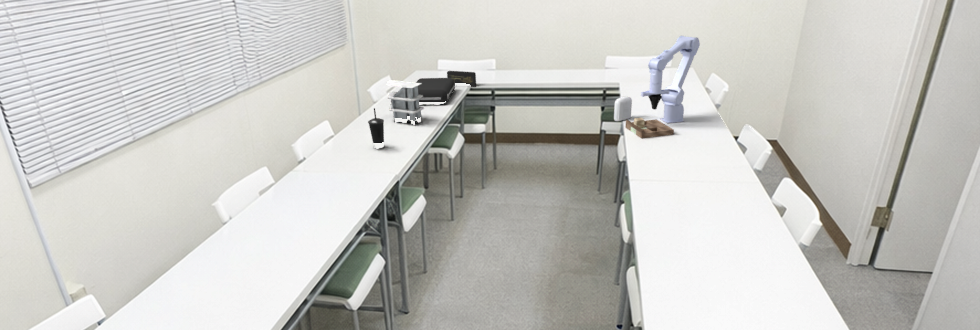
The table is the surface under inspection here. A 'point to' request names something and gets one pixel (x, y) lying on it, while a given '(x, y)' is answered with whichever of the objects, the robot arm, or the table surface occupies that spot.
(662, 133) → the box
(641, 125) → the maple block
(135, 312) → the table surface
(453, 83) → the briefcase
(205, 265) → the table surface
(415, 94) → the file organizer
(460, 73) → the nameplate
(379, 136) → the drinking cup
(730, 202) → the table surface
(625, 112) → the photo printer
